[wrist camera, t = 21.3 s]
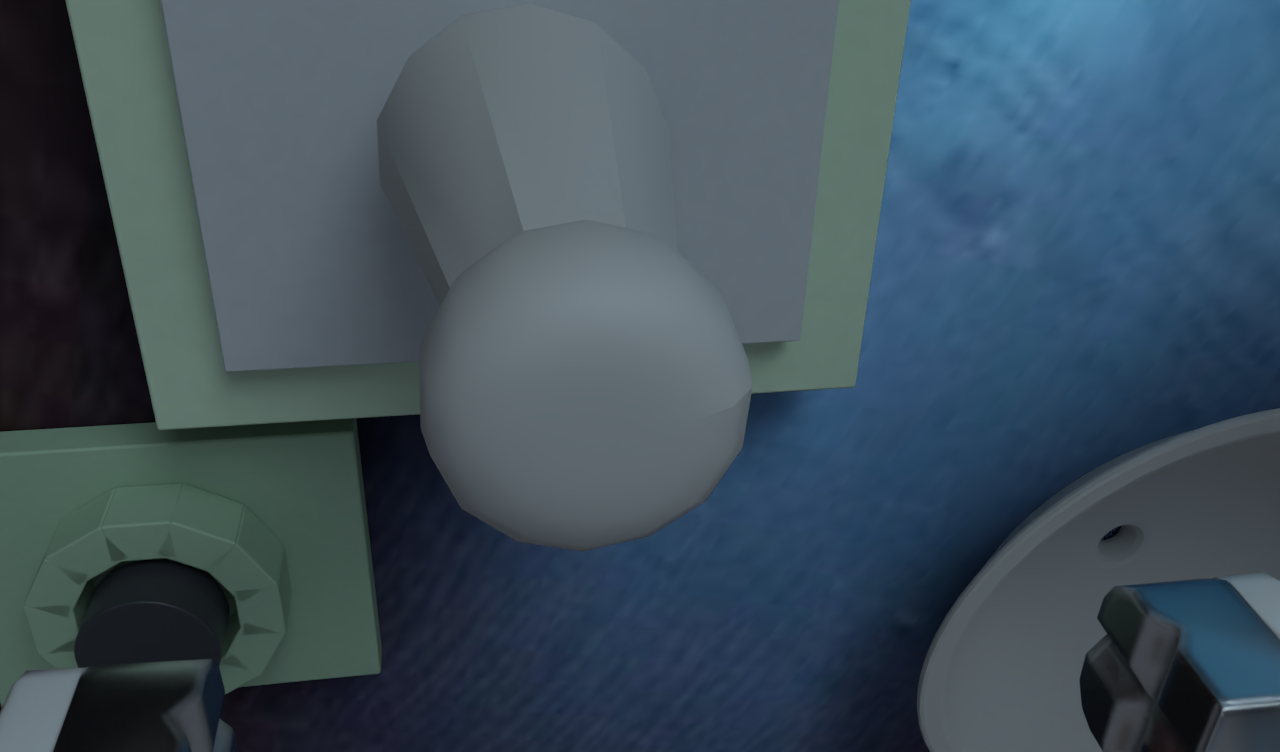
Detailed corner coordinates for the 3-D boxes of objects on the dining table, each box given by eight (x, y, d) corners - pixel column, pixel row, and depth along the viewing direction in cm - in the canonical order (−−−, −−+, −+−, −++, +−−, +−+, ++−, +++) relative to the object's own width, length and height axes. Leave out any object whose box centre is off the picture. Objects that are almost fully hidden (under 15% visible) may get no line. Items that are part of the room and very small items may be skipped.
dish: (948, 756, 44) (1005, 868, 40) (793, 513, 37) (842, 619, 33) (1378, 536, 42) (1487, 630, 38) (1304, 231, 35) (1429, 306, 30)
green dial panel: (355, 408, 32) (350, 469, 30) (382, 647, 37) (379, 718, 34) (-69, 434, 31) (-113, 501, 28) (13, 682, 35) (-18, 758, 32)
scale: (901, -296, 26) (971, -296, 22) (822, 336, 34) (866, 403, 30) (39, -328, 23) (-23, -334, 20) (178, 371, 31) (150, 450, 28)
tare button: (219, 553, 31) (209, 596, 29) (238, 652, 33) (230, 698, 31) (76, 564, 30) (59, 608, 29) (104, 665, 32) (89, 712, 31)
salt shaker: (566, 279, 27) (671, 677, 16) (336, 175, 25) (274, 551, 14) (695, 61, 25) (918, 344, 14) (455, -75, 23) (494, 134, 12)
